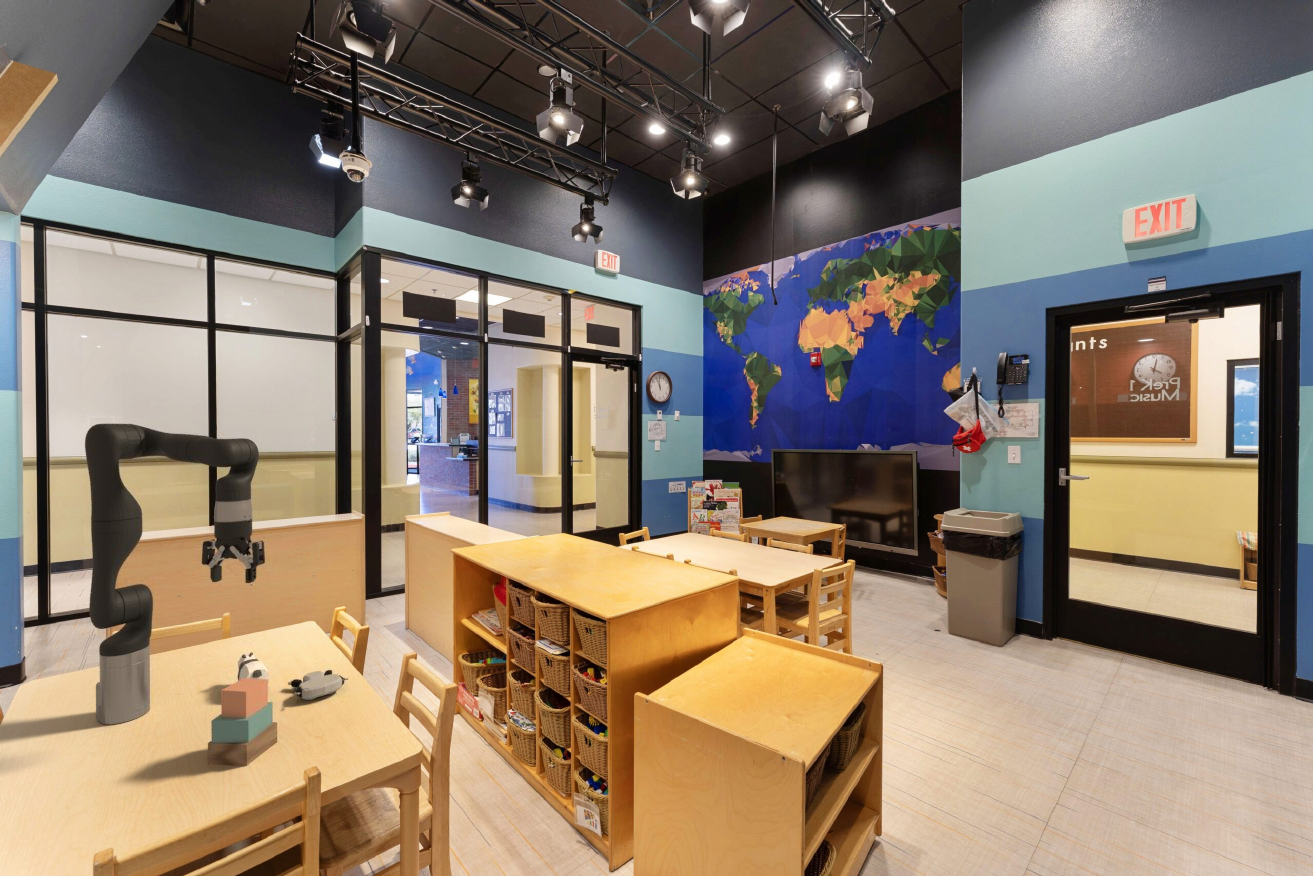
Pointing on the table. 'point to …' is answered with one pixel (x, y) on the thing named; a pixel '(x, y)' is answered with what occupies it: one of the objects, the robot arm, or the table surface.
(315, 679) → the robot toy
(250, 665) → the giant panda
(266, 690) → the terracotta cube
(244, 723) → the tower top
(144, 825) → the table surface
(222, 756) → the tower base
